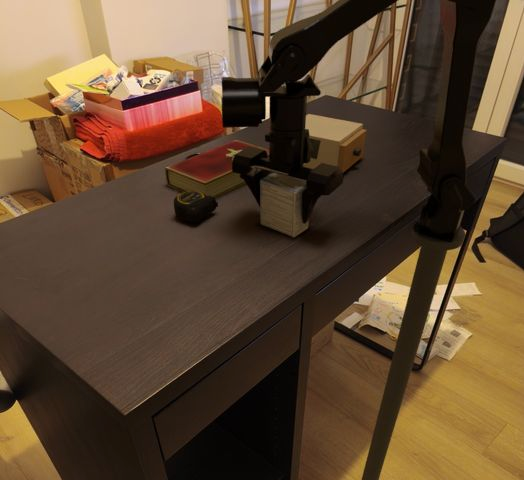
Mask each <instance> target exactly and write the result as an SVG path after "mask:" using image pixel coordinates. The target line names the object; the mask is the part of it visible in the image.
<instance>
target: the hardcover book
mask: <svg viewBox="0 0 524 480" xmlns="http://www.w3.org/2000/svg"><path fill="white" fill-rule="evenodd" d="M247 147H254V148H258V149H263V150H265V151H266V152H267V153H268V159H269V149H266V148H264V147H261V146H257V145H254V144H251V143H248V142H245V141H241V140H238V139H235V140H232V141H230V142H229V141H228V142H227V143H224V144H221V145H219V146H216V147H214V148H212V149H209V150H206V151H204V152H201V153H198V154H196V155H194V156H191V157H189V158H186V159H184V160H180V161H178V162H176V163H173V164H171V165H169V166H165V169H164V174H165V180H166V185H167V186H168V187H170V188H172V189H174V190H177V191H179V192H181V193H183V192H187V191H198V192H202V193H204V194H205V195H206V196H213V197H214V198H215V199H217V198H220V197H221V196H223V195H226V194H228V193H230V192H232V191H233V190H237V189H238V188H240V187H242V186H244V185H247V184H246V182H245V181H244V180H243V179H241V178H240V174H238V173H234V172H232V164H231V161H232V158H233V156H234V155H235V154H237V153H238V152H240V151H242V150H243V149H245V148H247ZM270 173H271V172H270V171H269V174H270Z"/></svg>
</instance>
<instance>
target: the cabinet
mask: <svg viewBox="0 0 524 480" xmlns="http://www.w3.org/2000/svg"><path fill="white" fill-rule="evenodd" d="M363 128H364V123H362V122H361V123H360V122H356V121H350V120H344V119H340V118H339V119H338V118H333V117H327V116H322V115H316V114H312V113H308V114H306V125H305V129H309V138H313V139H318V140H321V142H320V147H319V152H318V156H317V159H314V158H311V159H310V162H308V163H304V164H303V167H307V168H311V169H314V168H316V167H317V166H318V165H320V164H321V163H325V164H329V165H334V166H338V161H339V151H340V144H341V143H343V142H344V141H345V140H347V139H348V138H349V137H351V136H352V135H353V134H356V133H357V132H358V131H360V130H361V129H363Z"/></svg>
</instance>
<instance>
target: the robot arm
mask: <svg viewBox="0 0 524 480" xmlns="http://www.w3.org/2000/svg"><path fill="white" fill-rule="evenodd" d="M398 1H399V0H336V1H335V2H334V3H333V4H331V5H330V6H328V7H327V8H325V9H324V10H322V11H321V12H319V13H317V14H314V15H311V16H308V17H305V18H303V19H300V20H297V21H295V22H292V23H291V24H289V25H286V26H284V27H282V28H279V30H277V31H276V32H275V33H274V34H273V35H272V37H271V39H270V41H269V45H268V55H267V56H266V57H265V60H264V61H263V63H262V64H261V65H260V67H259V69H258V70H257V72H256V74H255V77H232V76H222V77H221V94H222V96H221V97H220V98H221V120H222V128H223V129H231V128H234V129H235V128H259V126H260V125H259V124H263V121H265V120H266V117H267V108H266V107H267V103H266V102H267V101H266V100H267V99H266V98H269V105H268V107H269V113H268V114H269V115H268V116H269V117H268V120H269V122H268V123H269V124H268V132H267V133H265V134H264V142H267V143H268V150H269V159H268V153H267V152H266V151H265V150H263V149H258V148H254V147H247V148H245V149H243V150H242V151H240V152H238V153H237V154H235V155H234V156H233V158H232V161H231V164H232V172H234V173H238V174H240V178H241V179H243V180H244V181H245V182H246V184H245V185H246V186H247V187H248V189H249V190H250V192H251V194H252V196H253V197H254V199H255V201H256V203H257V205H258V207H259V210H261V207H260V180H261V179H263V178H265V177H266V176H268V175H270V173H278V174H282V175H286V176H289V177H292V178H295V179H298V180H302V181H305V182H306V187H307V189H305V190H304V191H303V192H302V220H303V223H304V224H305V223H306V222H307V221H308V222H309V219H310V217H311V215H312V213H313V210H314V208H315V206H316V203H317V201H318V200H319V198H321V197H322V196H330V195H331V194H332V193H333V192H335V191H336V190H337V189H338V188H339V187H341V185H343V182H344V173H343V172H342V170H341V167H338V166H334V165H329V164H325V163H321V164H320V165H318V166H317V167H316V168H314V169H311V168H307V167H303V164H304V163H308V162H310V159H311V158H314V159H317V156H318V152H319V147H320V142H321V140H318V139H313V138H309V129H305V125H306V115H307V108H308V107H307V104H308V97H318V96H321V94H322V91H321V89H320V88H319V86H318V84H317V83H316V82H315V81H314V80H313V78H312V76H311V74H310V72H311V71H312V70H313V69H314V68H315V67H316V66H317V65H318V64H320V62H321V61H322V60H323V58H325V56H326V55H327V53H328V52H329V51H330V50H331V49H332V48H333V47H334V46H335V45H336V44H337V43H338V42H339V41H341V40H343V39H344V38H345V37H347V36H348V35H350V34H351V33H353V32H354V31H355V30H357V29H359V28H360V27H361V26H363V25H365V24H366V23H367V22H369V21H370V20H372V19H373V18H375V17H376V16H377V15H379V14H381V13H382V12H383V11H385V10H386V9H389V8H390V7H391V6H392V5H394V4H395V3H397V2H398ZM438 2H439V19H440V23H441V29H442V34H443V39H444V40H443V41H444V42H443V43H444V45H443V54H442V61H441V70H440V71H441V72H440V79H439V89H438V96H437V98H438V99H437V106H436V113H435V114H436V115H435V120H434V121H435V122H434V131H433V138H432V141H431V142H430V144H429V146H428V148H420V149H419V164H418V167H417V169H416V172H417V173H418V175H420V178H421V181H422V182H423V183H424V184H425V186H426V187H427V191H428V192H429V193H430V196H429V197H428V198H427V200H426V202H425V203H424V204H423V205H422V209H421V213H420V216H419V220H418V221H419V226H420V228H419V230H418V232H417V233H418V234H421V235H425V236H429V237H432V238H436V239H440V240H444V241H447V242H452V241H453V240H454V238H455V236H456V235H457V233H458V232H459V230H460V228H461V227H462V225H461V222H462V219H463V216H464V213H465V212H466V211H469V210H470V209H471V208H472V206H473V205H474V204H475V202H476V198H475V197H474V196H473V194H472V193H471V191H470V190H469V189H468V187H467V186H466V185H467V181H468V179H467V161H466V155H465V149H464V144H463V141H464V134H465V127H466V122H467V115H468V108H469V103H470V96H471V89H472V84H473V77H474V69H475V64H476V59H477V51H478V45H479V43H480V40H481V37H482V35H483V33H484V32H485V30H486V28H487V26H488V25H489V23H490V22H491V19H492V15H493V13H494V9H495V5H496V4H497V0H439V1H438ZM269 171H270V173H269Z"/></svg>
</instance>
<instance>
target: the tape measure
mask: <svg viewBox="0 0 524 480" xmlns="http://www.w3.org/2000/svg"><path fill="white" fill-rule="evenodd" d="M216 199H217V198H214V197H213V196H206V195H205V194H204V193H202V192H198V191H187V192H181V193H179V194H177V195H176V196H175V197H174V199H173V210H174V214H175V216H176V217H177V218H178V219H180V220H181V221H186V222H192V223H196V222H199V221H200V220H201V219H203V218H204V217H206V216H208V215H209V214H212V213H213V212H214V211H216V209H217V208H218V207H219V202H218V201H217V200H216Z"/></svg>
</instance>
